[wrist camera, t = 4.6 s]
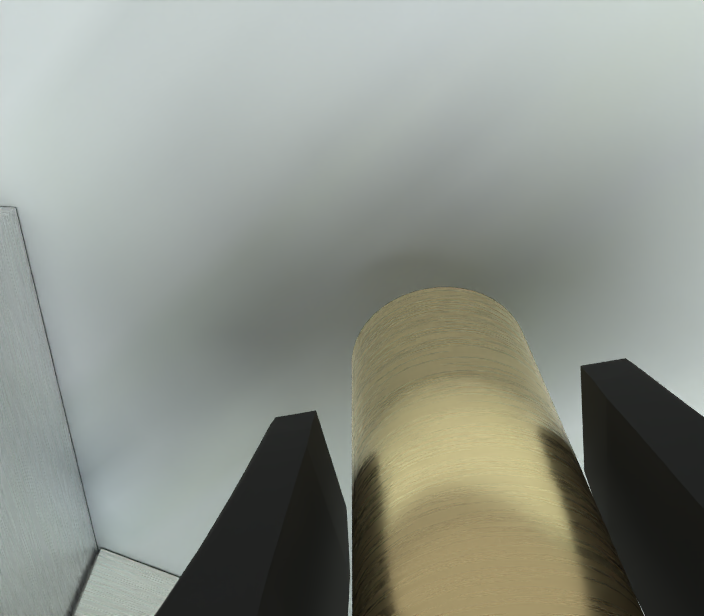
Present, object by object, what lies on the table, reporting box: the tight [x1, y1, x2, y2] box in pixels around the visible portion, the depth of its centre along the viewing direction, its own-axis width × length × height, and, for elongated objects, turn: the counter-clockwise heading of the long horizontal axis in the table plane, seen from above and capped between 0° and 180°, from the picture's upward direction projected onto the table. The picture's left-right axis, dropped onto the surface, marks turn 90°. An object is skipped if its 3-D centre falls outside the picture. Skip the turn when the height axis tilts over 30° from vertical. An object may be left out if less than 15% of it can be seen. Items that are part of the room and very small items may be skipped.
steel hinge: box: [0, 207, 179, 616], centre depth 14 cm, size 16×16×5 cm
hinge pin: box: [352, 287, 644, 616], centre depth 8 cm, size 4×4×8 cm
